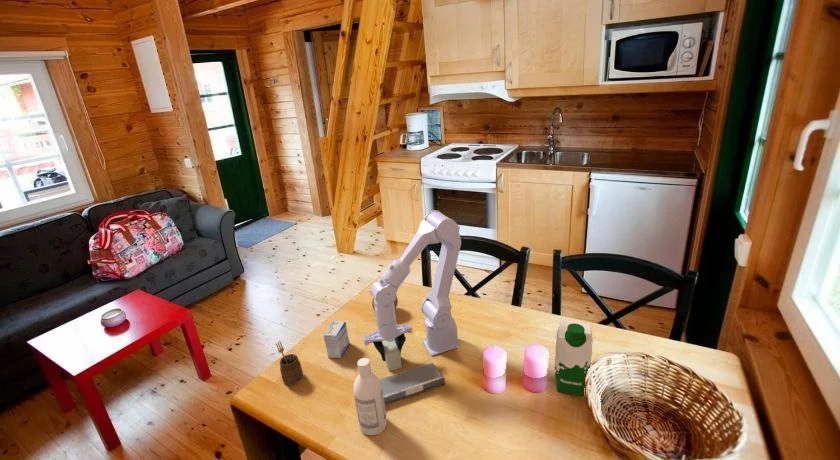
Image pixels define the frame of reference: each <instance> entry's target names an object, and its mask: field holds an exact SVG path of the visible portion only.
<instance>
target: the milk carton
mask: <svg viewBox="0 0 840 460" xmlns="http://www.w3.org/2000/svg"><path fill="white" fill-rule="evenodd" d="M593 342H594V340H593V333H592V327H591V323H588V322H582V321H572V320H564V319H559V323H558V328H557V331H556V341H555V355H554V356H555V357H554V377H555V384H556V385H555V387H556V392H557V391H558V393H561V394H567V395H569V394H570V395H574V396H580V397H585V396H584V388H585V377H586V373H587V371H588V369H589V368H590V369H591V364H592V354H593V344H594V343H593ZM563 392H564V393H563Z"/></svg>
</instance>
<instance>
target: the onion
mask: <svg viewBox="0 0 840 460" xmlns="http://www.w3.org/2000/svg"><path fill="white" fill-rule="evenodd" d="M372 297H373V296H372ZM398 304H399V300H398V296H396V300H395V301H394V306H395V310H396V309H397V308H398V307H397V306H398ZM371 306H372V309H373V310H374V312H375V304H374V297H373V298H372V300H371Z"/></svg>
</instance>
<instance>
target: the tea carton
mask: <svg viewBox="0 0 840 460" xmlns="http://www.w3.org/2000/svg"><path fill="white" fill-rule="evenodd" d="M382 343H383V345H384V355H385V361H384V363H385V365H386V368H387V370H388V372H392V371H395V370H397V369H401V368H402V360H401V355H400V351H399V349H398V347H397V345H396V343H395V340H394V341H392V342H388V341H382Z"/></svg>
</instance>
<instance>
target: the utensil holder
mask: <svg viewBox="0 0 840 460" xmlns="http://www.w3.org/2000/svg"><path fill="white" fill-rule="evenodd" d="M275 346H276V348H277V350H278V353H279V354H281V355H282V357H281V358H280V360H279V365H280V368H279V370H280V375H281V379H282V381H283V383H284V384H285V385H287V386H293V385H296V384H298V383H299V382H300V381H301V380H302V379H303V376H304V373H303V366H302V363H301V362H300V360H299V357H298V355H296V353H290V352H293V350H292V349H291V350H288V351H287V353H286V355H285V354H284V352H285V351H284V347H283V343H282V342H281V341H278V342H277V343H275ZM289 353H290V354H289Z"/></svg>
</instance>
